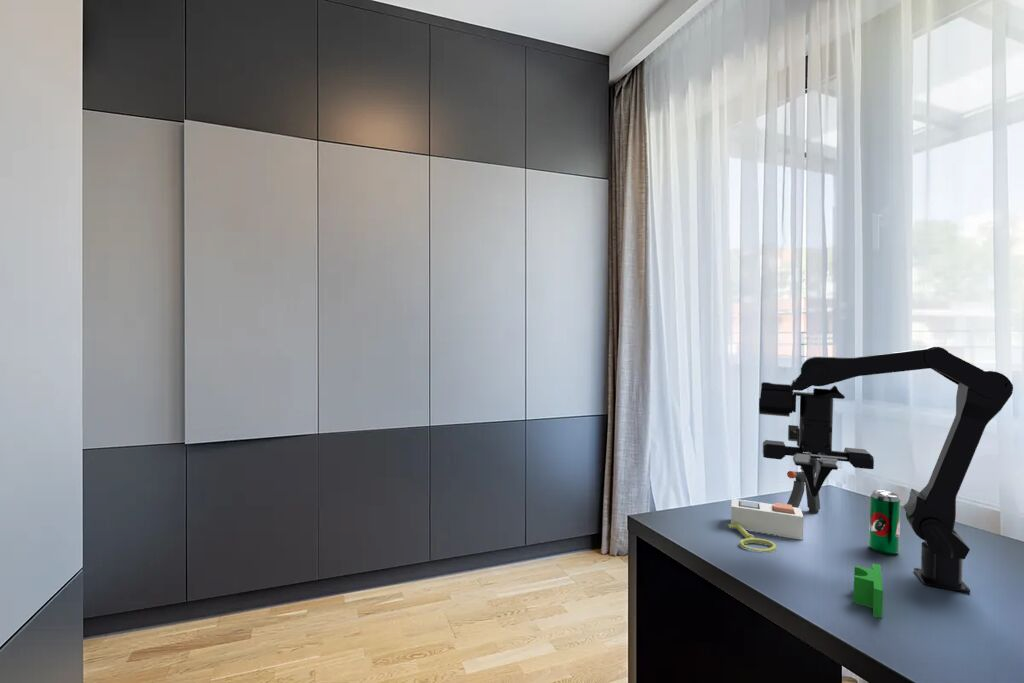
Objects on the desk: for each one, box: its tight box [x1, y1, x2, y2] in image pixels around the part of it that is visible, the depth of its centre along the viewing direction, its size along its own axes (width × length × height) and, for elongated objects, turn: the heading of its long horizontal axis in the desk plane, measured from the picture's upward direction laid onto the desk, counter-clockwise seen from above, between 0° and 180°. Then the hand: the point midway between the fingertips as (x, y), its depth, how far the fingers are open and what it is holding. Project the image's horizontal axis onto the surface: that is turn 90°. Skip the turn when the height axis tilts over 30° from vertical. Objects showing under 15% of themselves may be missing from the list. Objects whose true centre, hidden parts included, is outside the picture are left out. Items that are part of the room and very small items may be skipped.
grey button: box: [740, 500, 758, 509], centre depth 117 cm, size 4×4×5 cm
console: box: [730, 498, 804, 541], centre depth 115 cm, size 6×14×5 cm, turn 66°
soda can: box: [868, 489, 902, 556], centre depth 105 cm, size 5×5×12 cm
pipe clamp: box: [853, 563, 884, 619], centre depth 85 cm, size 11×4×5 cm, turn 145°
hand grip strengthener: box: [786, 458, 821, 514], centre depth 125 cm, size 2×12×15 cm, turn 118°
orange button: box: [773, 502, 793, 514], centre depth 114 cm, size 4×4×5 cm
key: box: [727, 522, 777, 553], centre depth 108 cm, size 7×12×2 cm, turn 19°
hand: (813, 496), depth 101 cm, fingers closed
